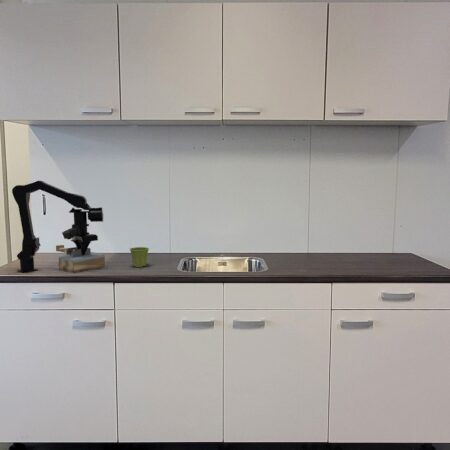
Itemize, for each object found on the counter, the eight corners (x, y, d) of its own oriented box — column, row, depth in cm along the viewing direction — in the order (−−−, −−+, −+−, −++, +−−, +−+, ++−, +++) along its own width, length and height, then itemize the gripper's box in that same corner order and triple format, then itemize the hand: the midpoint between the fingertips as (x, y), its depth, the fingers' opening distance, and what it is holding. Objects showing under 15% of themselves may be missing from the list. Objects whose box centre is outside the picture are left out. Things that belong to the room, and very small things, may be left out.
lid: (59, 260, 173) (58, 250, 173) (89, 255, 186) (88, 245, 185) (74, 264, 165) (73, 253, 165) (104, 258, 178) (104, 248, 178)
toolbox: (56, 268, 175) (55, 249, 174) (86, 262, 188) (85, 245, 187) (74, 273, 166) (73, 253, 165) (105, 266, 179) (104, 248, 178)
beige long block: (56, 251, 186) (55, 245, 186) (61, 250, 189) (61, 244, 189) (68, 253, 180) (67, 247, 180) (73, 252, 182) (73, 247, 182)
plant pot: (150, 263, 186) (149, 246, 185) (148, 267, 177) (148, 250, 176) (131, 264, 185) (130, 247, 184) (128, 268, 175) (128, 250, 174)
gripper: (53, 222, 173) (55, 254, 174) (75, 224, 162) (77, 259, 163) (75, 220, 182) (76, 251, 183) (97, 222, 171) (99, 255, 172)
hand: (81, 254), depth 175 cm, fingers closed on lid
